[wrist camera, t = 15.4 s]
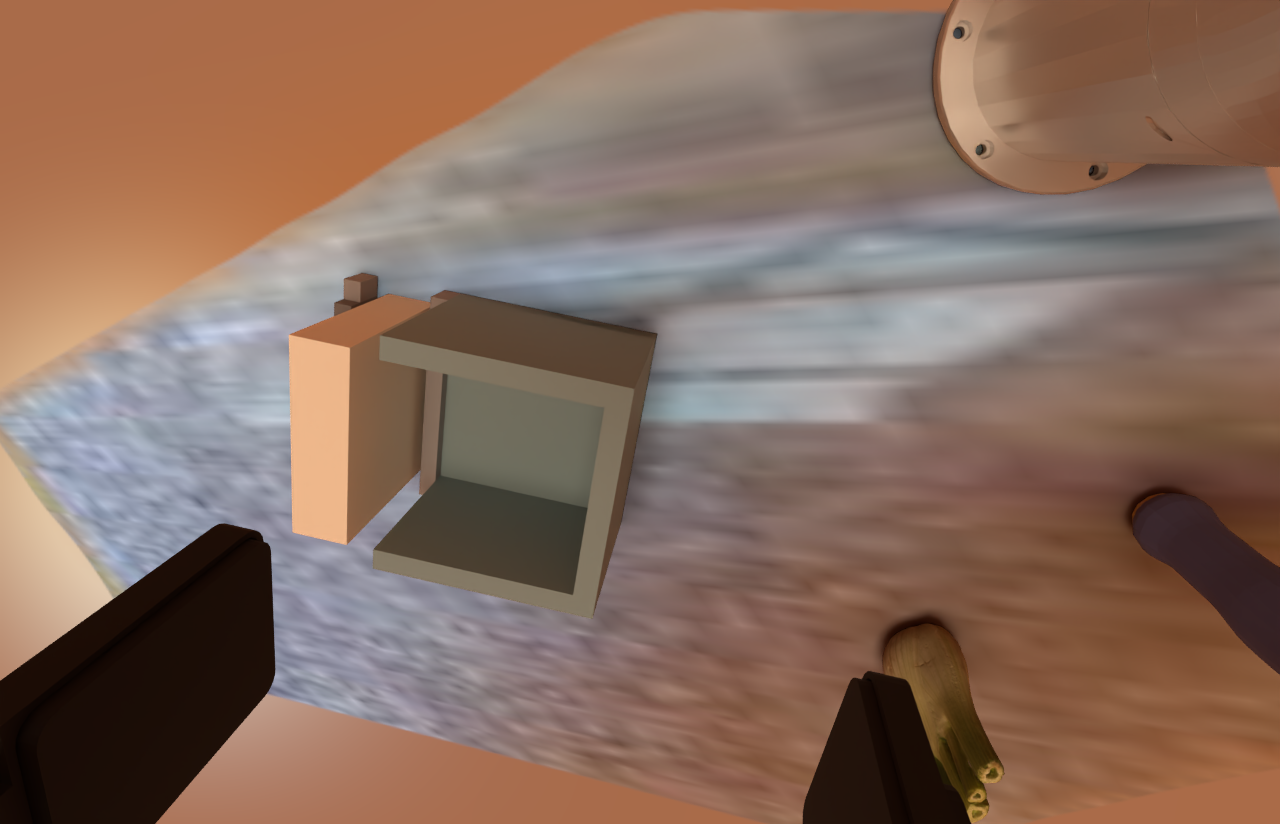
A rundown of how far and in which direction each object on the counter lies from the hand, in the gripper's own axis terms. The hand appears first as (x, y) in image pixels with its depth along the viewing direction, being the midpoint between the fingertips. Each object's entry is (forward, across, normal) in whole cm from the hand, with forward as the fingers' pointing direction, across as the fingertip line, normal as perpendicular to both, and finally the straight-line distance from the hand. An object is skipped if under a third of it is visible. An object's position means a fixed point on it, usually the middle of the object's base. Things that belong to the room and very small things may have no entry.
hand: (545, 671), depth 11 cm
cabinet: (+30, +10, +9) cm, 33 cm away
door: (+30, +16, +9) cm, 35 cm away
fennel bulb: (+31, -20, +20) cm, 42 cm away
